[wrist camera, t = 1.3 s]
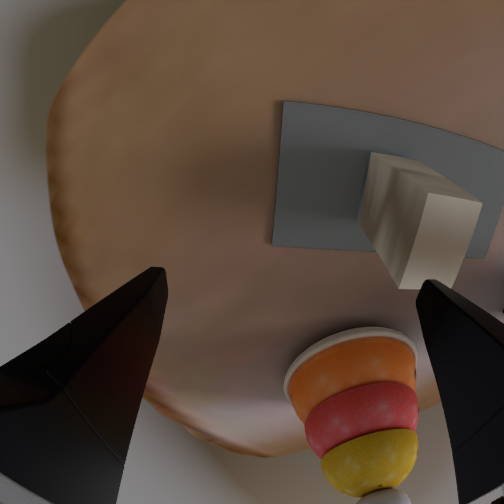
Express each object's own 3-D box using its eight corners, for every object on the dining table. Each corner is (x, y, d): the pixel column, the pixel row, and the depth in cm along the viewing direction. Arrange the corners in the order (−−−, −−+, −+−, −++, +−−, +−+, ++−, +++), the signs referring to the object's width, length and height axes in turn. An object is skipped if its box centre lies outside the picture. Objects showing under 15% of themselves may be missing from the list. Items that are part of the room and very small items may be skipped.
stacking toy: (390, 392, 33) (423, 529, 16) (280, 404, 33) (284, 557, 16) (429, 310, 25) (508, 490, 9) (285, 320, 26) (299, 557, 9)
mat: (482, 256, 22) (483, 258, 22) (271, 243, 22) (271, 246, 22) (513, 154, 17) (515, 155, 17) (283, 100, 17) (283, 101, 17)
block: (398, 223, 20) (451, 289, 14) (356, 219, 20) (398, 289, 14) (413, 158, 18) (482, 203, 11) (368, 150, 18) (428, 192, 11)
